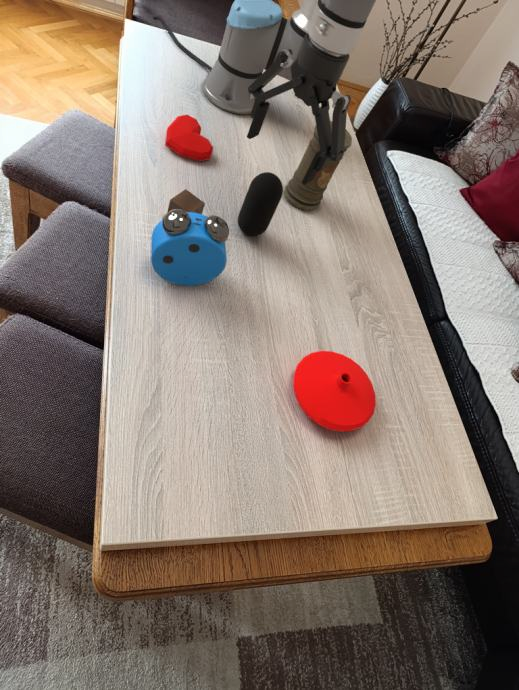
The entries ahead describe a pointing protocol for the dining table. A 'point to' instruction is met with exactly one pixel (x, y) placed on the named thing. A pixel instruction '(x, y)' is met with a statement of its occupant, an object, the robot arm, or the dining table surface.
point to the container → (313, 191)
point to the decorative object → (260, 204)
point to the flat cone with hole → (334, 391)
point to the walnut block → (186, 203)
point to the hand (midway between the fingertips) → (279, 158)
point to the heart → (188, 139)
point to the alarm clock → (189, 247)
